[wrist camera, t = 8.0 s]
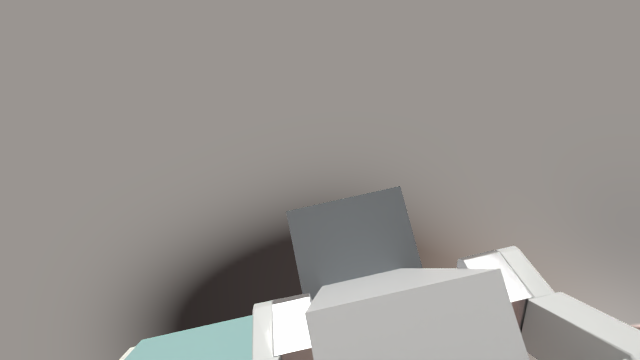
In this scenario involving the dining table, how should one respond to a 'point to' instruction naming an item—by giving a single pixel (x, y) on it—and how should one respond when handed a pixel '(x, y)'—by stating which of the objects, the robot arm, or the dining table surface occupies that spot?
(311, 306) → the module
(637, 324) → the dining table surface
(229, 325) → the stand
